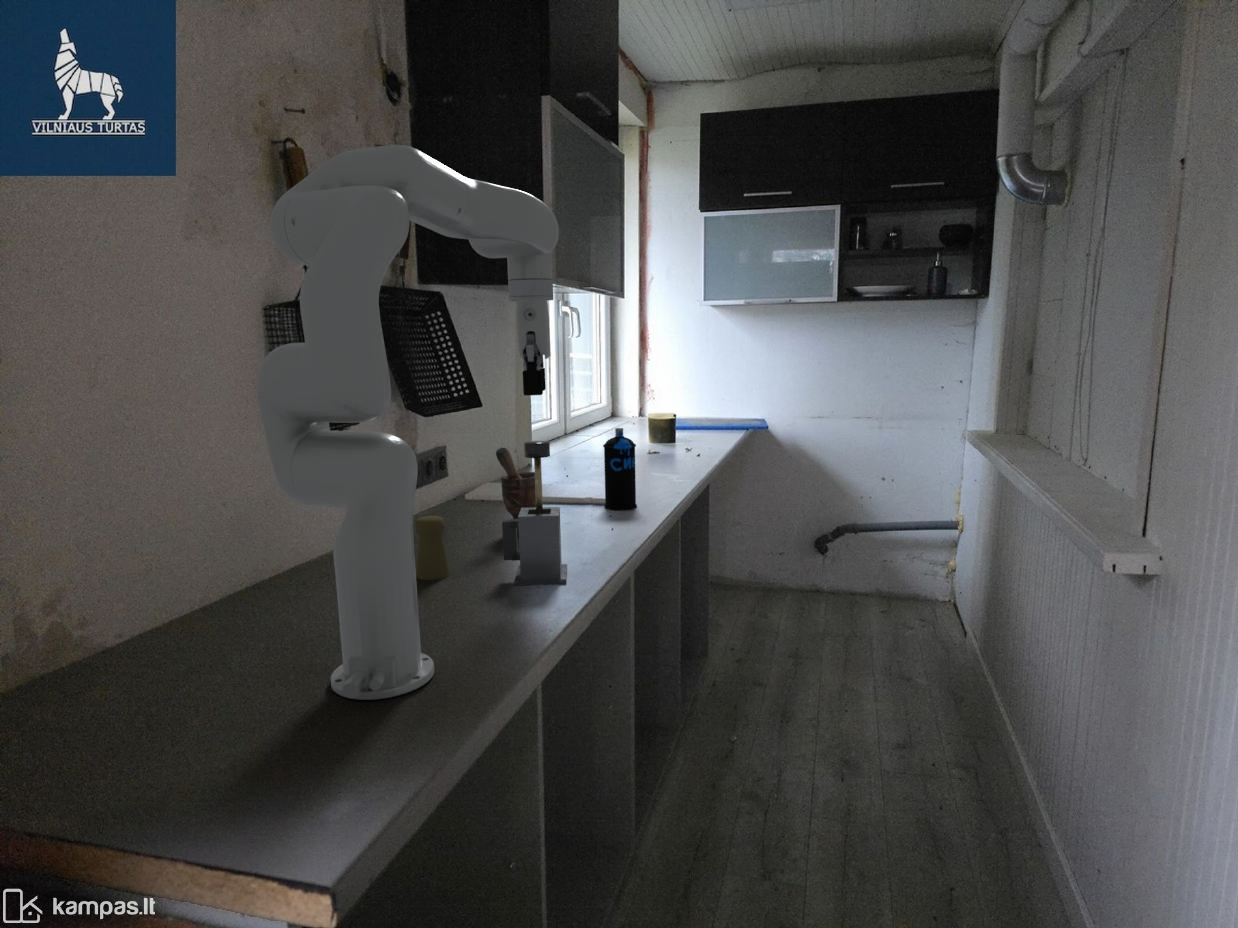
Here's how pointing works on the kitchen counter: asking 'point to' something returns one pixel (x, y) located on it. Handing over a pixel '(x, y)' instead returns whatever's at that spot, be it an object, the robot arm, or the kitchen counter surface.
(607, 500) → the aerosol can
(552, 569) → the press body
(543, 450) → the plunger
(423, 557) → the cork
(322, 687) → the kitchen counter surface
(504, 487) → the mortar and pestle
